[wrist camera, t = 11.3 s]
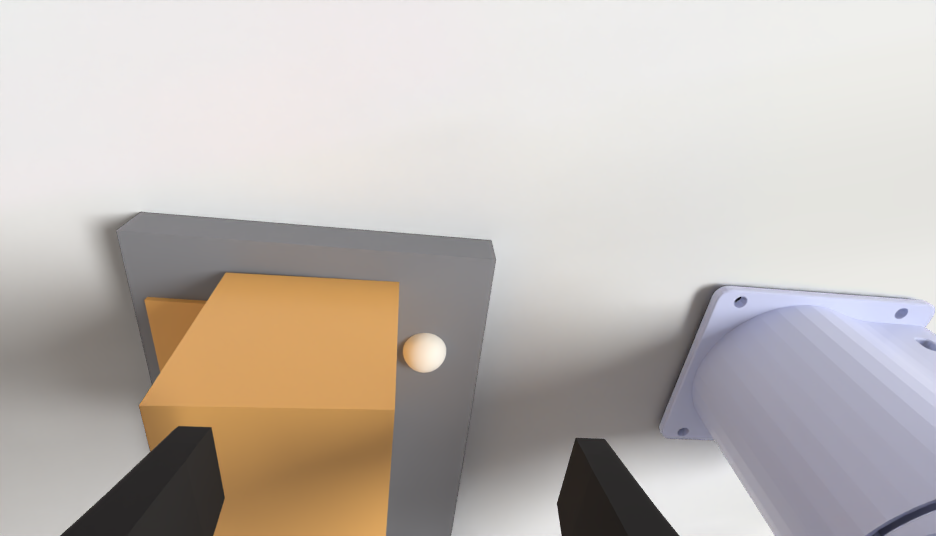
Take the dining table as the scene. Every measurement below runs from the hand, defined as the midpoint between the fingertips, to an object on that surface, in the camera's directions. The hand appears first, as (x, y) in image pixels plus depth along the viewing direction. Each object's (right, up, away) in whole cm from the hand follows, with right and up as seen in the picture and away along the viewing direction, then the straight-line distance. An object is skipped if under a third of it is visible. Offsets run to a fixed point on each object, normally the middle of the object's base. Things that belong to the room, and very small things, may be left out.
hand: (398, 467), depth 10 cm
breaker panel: (-5, -3, +12) cm, 13 cm away
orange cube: (-4, +1, +8) cm, 9 cm away
